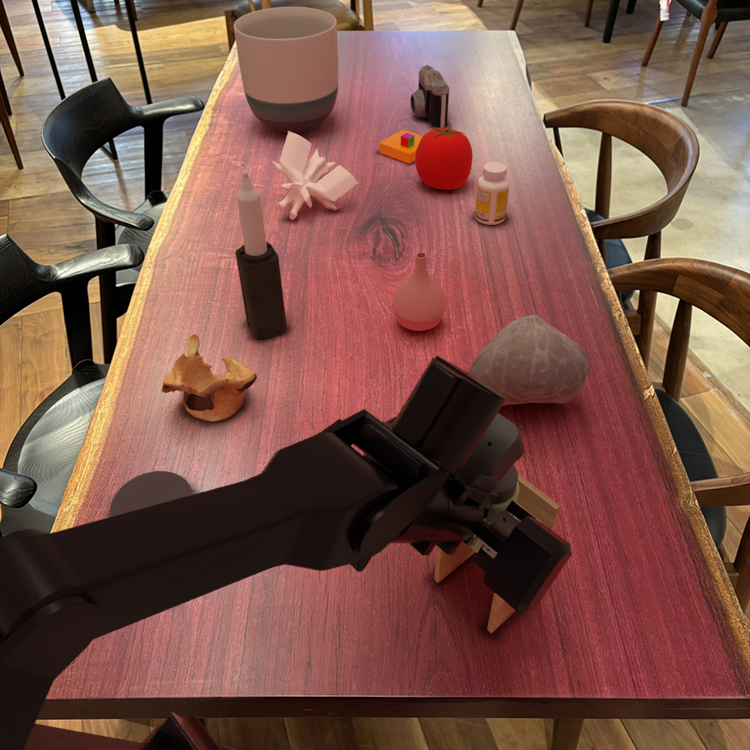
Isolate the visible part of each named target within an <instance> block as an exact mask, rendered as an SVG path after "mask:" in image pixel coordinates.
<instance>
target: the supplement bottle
mask: <svg viewBox="0 0 750 750" xmlns="http://www.w3.org/2000/svg"><path fill="white" fill-rule="evenodd" d="M507 173H508V166H507V165H506V164H505V163H503V162H500V161H488V162H486V163H485V164H483V167H482V175H481V176H479V178H478V181H477V186H476V187H477V188H476V197H475V210H474V217H475V219H476V221H477V222H478V223H480V224H483V225H488V226H493V225H494V226H495V225H499V224H502V223H503V222H504V221H505V219H506V214H507V208H508V207H507V206H508V198H509V189H510V181H509V178H508V177H507Z"/></svg>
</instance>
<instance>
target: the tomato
mask: <svg viewBox="0 0 750 750" xmlns="http://www.w3.org/2000/svg"><path fill="white" fill-rule="evenodd" d="M452 128H453V125H451V126H450V127H444V128H432V129H430V130H429V131H427V132H426V133H425V134H423V135H422V136H423V137H422V139H421V140H420V142H419V145H418V147H417V150H416V154H415V161H414V163H415V170H416V172H417V175H418V177H419V178H420V180H421V181H422V182H423V184H425V185H427V186H428V187H430V188H433V189H438V190H443V191H445V190H446V191H450V190H456V189H458V188H460V187H462V186H463V185H464V184H465V183H466V182H467V181H468V179H469V176H471V171H472V167H473V159H474V158H473V157H474V155H473V147H472V144H471V142H470V140H469V137H467V136H466V135H465V132H464V131H463V132H462V131H459V130H456V129H452Z"/></svg>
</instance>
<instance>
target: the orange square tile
mask: <svg viewBox="0 0 750 750" xmlns="http://www.w3.org/2000/svg"><path fill="white" fill-rule="evenodd" d="M423 136H424V135H421V134H418V133H414V132H412V131H409V130H406V129H402V130H399V131H398V132H396V133H394V134H392V135H390V136H388V137H387V138H385V139H383V140H382V141H380V142H378V143H379V144H378V152H379V154H381V155H384V156H387V157H390V158H392V159H394V160H395V159H396V160H398V161H401V162H403V163H405V164H409V165H411V164H412V163H415V154H416V150H417V147H418V145H419V142H420V140H421V139H422V137H423Z"/></svg>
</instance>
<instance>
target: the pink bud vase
mask: <svg viewBox="0 0 750 750" xmlns="http://www.w3.org/2000/svg"><path fill="white" fill-rule="evenodd" d="M414 258H415V261H414V262H415V263H414V269H413V271H412V272H411V274H410V276H409V277H408V278H406V279H405V280H403V281H402V282H400V283H399V285H397V287H396V288H395V293H394V295H393V296H394V297H393V301H392V304H391V305H392V308H393V312H394V315H395V317H396V319H397V322H398V323H399V324H400V325H401V326H402V327H404V328H405V329H407V330H411V331H416V332H417V331H418V332H420V331H421V332H424V331H428V330H432V329H433V328H435V327H437V326H438V324H439V323H441V321H442V320H441V319H442V318H443V316H444V313H445V312H446V307H447V303H446V296H445V291H444V288H443V287H442V286H441V285H440V284H439V283H438V282H436V281H435V280H434V279H433V278H432V277H431V274H430V273H429V272H428V270H427V261H428V260H427V259H428V254H427V253H426V252H423V251H419V252H416V253H415V257H414Z"/></svg>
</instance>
